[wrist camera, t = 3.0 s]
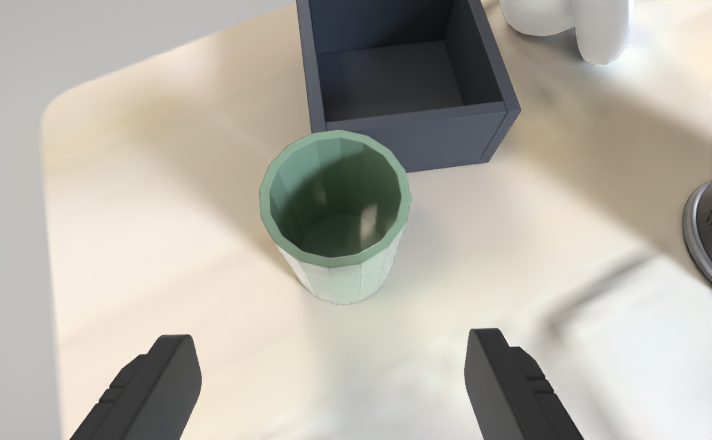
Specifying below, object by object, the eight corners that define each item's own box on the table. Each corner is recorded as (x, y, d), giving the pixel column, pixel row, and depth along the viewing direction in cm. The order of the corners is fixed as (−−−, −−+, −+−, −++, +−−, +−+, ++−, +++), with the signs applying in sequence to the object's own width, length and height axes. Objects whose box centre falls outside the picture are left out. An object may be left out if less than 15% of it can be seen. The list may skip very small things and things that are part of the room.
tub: (449, 37, 30) (468, -32, 25) (488, 162, 26) (521, 110, 20) (305, 53, 29) (294, -14, 24) (321, 184, 25) (311, 136, 20)
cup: (382, 206, 24) (395, 122, 16) (399, 297, 22) (424, 255, 14) (291, 218, 24) (256, 139, 16) (299, 311, 22) (263, 277, 14)
